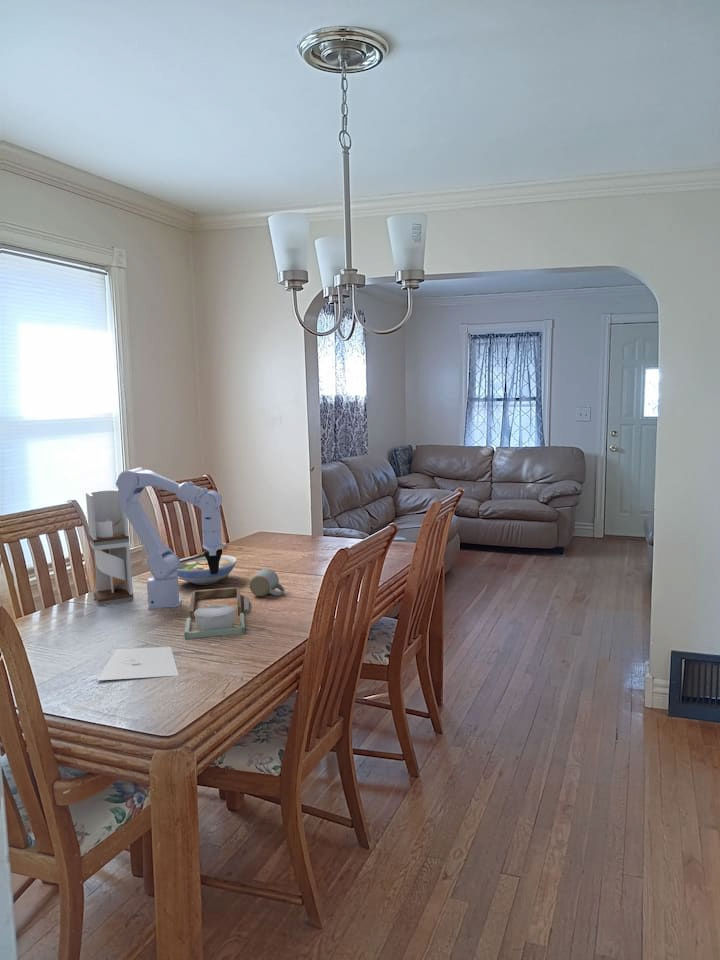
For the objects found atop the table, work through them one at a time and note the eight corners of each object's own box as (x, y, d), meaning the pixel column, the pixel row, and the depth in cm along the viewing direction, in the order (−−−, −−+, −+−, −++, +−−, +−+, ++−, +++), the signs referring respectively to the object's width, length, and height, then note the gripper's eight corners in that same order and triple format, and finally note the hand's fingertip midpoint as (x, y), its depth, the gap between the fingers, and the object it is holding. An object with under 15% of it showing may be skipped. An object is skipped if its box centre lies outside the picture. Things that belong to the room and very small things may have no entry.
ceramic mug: (248, 597, 232) (247, 573, 231) (258, 590, 240) (257, 567, 239) (279, 598, 230) (278, 575, 229) (288, 591, 238) (287, 569, 237)
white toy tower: (93, 597, 238) (85, 492, 234) (127, 592, 243) (119, 489, 238) (98, 605, 228) (90, 495, 224) (133, 600, 233) (125, 492, 228)
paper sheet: (118, 649, 189) (118, 645, 189) (230, 647, 190) (230, 643, 190) (89, 684, 165) (89, 679, 165) (217, 681, 167) (216, 677, 166)
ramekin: (231, 620, 209) (230, 602, 208) (239, 631, 199) (238, 612, 198) (192, 625, 205) (190, 607, 204) (198, 637, 195) (197, 618, 194)
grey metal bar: (244, 614, 215) (244, 609, 215) (244, 602, 227) (244, 598, 227) (249, 613, 216) (248, 609, 215) (249, 602, 227) (248, 598, 227)
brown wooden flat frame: (189, 619, 210) (189, 611, 210) (192, 598, 233) (192, 590, 232) (241, 615, 213) (241, 606, 213) (239, 594, 235) (239, 587, 235)
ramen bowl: (198, 595, 235) (197, 571, 234) (155, 586, 249) (153, 563, 248) (254, 578, 255) (252, 556, 254) (210, 570, 269) (209, 549, 268)
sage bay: (184, 638, 194) (184, 633, 194) (187, 622, 207) (187, 617, 207) (245, 633, 197) (244, 627, 197) (243, 617, 210) (243, 612, 210)
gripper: (225, 533, 215) (227, 578, 217) (225, 525, 230) (227, 567, 231) (201, 535, 214) (203, 580, 216) (202, 526, 228) (204, 569, 230)
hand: (214, 573), depth 223 cm, fingers closed
